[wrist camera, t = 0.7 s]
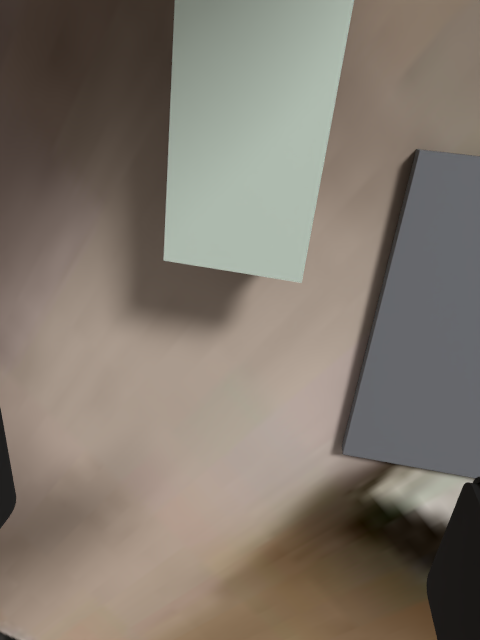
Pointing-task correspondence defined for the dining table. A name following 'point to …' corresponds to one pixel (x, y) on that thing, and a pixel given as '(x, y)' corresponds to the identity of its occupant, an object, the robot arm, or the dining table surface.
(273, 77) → the lid
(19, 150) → the dining table surface
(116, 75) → the dining table surface
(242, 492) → the dining table surface
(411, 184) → the mat
